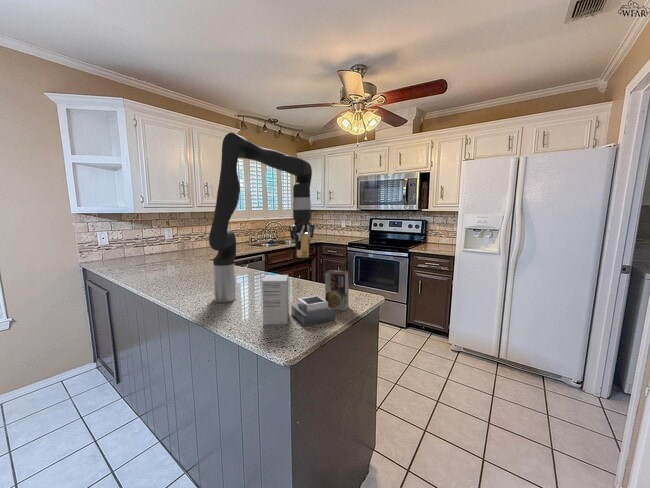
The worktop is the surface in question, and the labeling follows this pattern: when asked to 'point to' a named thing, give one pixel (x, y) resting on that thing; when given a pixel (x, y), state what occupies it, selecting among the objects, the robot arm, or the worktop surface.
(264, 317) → the supplement box
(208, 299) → the worktop surface
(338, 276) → the coffee box
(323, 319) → the grey square socket base
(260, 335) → the worktop surface
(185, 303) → the worktop surface
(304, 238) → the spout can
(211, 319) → the worktop surface
